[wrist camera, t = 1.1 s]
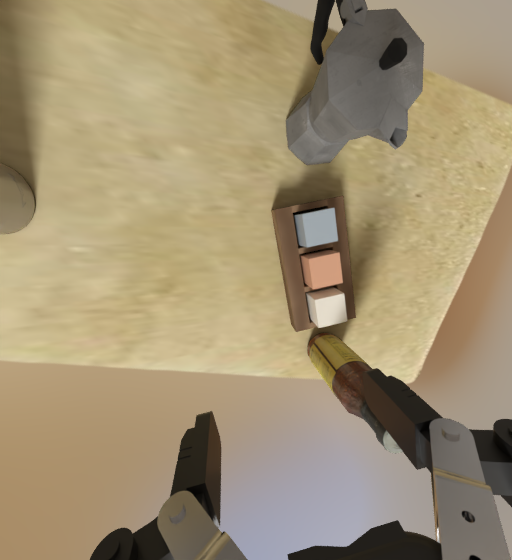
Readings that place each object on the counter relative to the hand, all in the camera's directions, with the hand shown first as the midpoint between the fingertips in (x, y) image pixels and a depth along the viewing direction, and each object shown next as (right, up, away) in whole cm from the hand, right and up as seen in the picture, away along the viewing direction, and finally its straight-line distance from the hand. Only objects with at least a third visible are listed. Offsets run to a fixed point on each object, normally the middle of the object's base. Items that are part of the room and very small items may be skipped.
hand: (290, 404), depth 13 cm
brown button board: (+7, +9, +28) cm, 30 cm away
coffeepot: (+6, +29, +23) cm, 37 cm away
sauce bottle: (+10, -5, +31) cm, 33 cm away
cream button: (+9, +3, +27) cm, 29 cm away
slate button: (+6, +14, +24) cm, 29 cm away
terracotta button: (+7, +9, +26) cm, 28 cm away
